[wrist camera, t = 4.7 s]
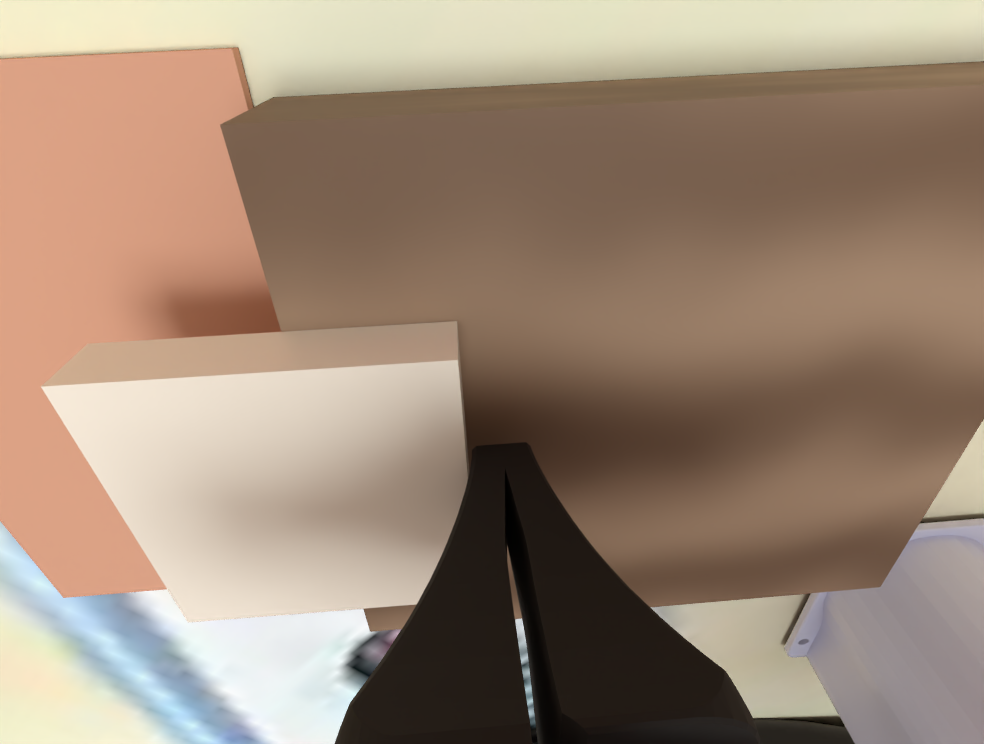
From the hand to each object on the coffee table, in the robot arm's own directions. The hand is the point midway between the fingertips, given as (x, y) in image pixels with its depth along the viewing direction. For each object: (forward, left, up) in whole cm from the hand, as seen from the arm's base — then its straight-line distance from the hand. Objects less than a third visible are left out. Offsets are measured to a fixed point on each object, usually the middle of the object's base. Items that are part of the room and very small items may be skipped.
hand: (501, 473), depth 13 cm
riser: (0, -4, -4) cm, 6 cm away
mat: (0, +11, -4) cm, 12 cm away
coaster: (0, +5, -1) cm, 5 cm away
